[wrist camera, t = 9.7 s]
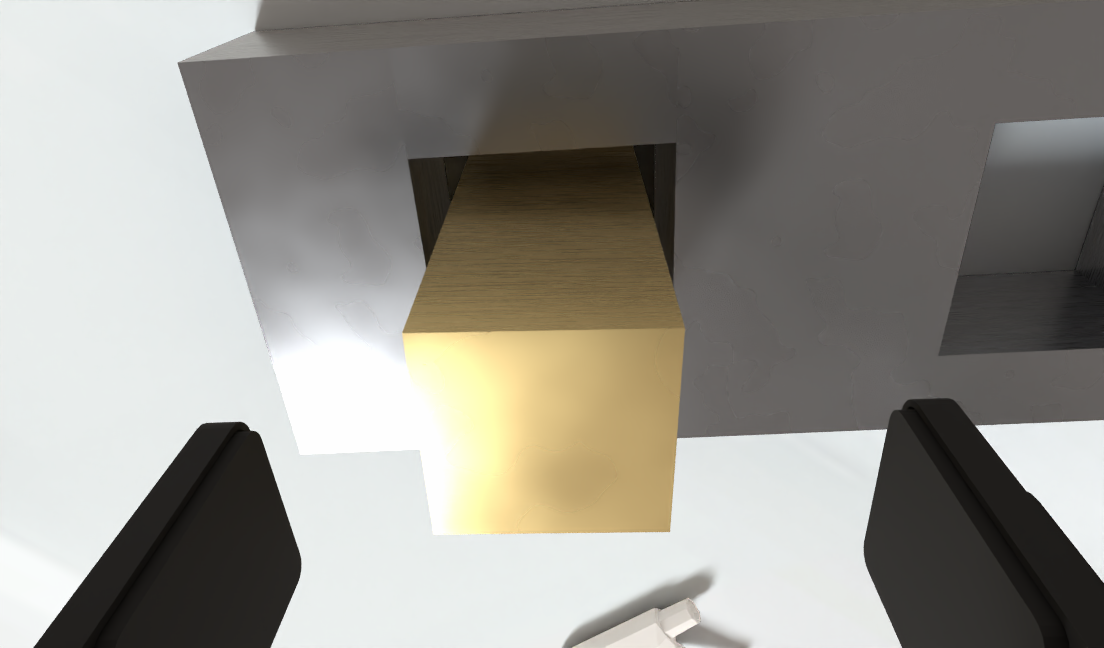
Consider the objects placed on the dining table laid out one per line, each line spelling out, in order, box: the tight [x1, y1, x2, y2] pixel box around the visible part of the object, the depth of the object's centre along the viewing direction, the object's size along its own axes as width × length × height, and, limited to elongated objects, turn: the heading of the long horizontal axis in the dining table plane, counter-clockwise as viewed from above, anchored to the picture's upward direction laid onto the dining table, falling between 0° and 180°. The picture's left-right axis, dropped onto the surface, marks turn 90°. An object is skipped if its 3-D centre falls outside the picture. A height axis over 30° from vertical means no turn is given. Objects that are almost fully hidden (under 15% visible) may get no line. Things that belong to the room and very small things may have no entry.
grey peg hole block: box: [178, 0, 1104, 454], centre depth 18 cm, size 26×10×4 cm, turn 94°
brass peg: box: [402, 145, 685, 534], centre depth 15 cm, size 4×4×10 cm
